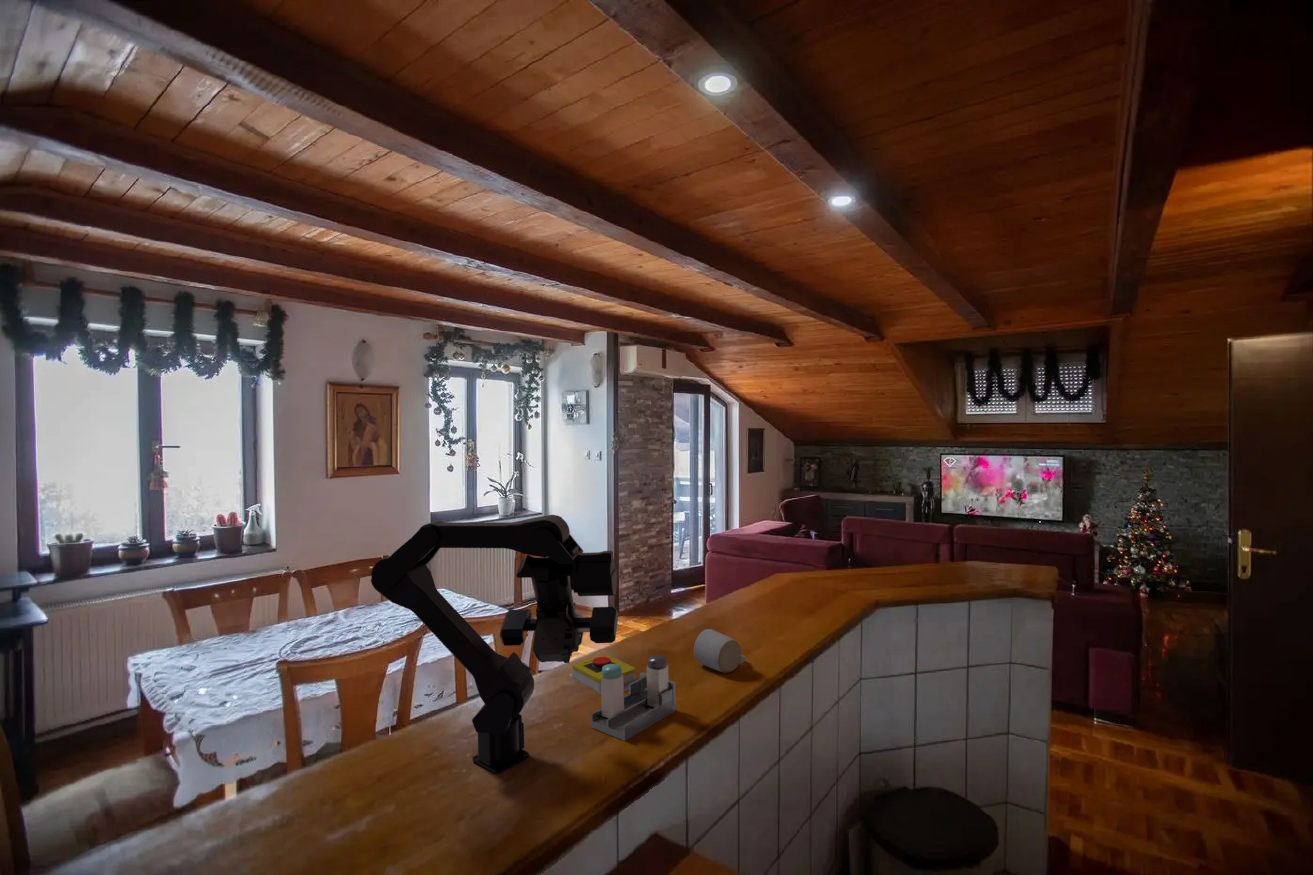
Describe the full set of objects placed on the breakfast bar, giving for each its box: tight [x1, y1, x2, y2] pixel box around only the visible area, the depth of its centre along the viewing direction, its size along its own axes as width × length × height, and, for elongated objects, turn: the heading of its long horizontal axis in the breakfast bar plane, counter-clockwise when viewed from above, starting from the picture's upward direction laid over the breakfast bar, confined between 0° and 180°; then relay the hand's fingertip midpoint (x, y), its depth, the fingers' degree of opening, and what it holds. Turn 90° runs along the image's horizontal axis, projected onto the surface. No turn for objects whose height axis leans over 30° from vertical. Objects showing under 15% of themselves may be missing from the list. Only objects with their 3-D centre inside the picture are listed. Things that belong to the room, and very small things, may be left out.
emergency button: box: [568, 654, 638, 695], centre depth 128 cm, size 9×4×15 cm
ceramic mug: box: [693, 628, 746, 674], centre depth 134 cm, size 11×8×8 cm
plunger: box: [600, 664, 625, 718], centre depth 108 cm, size 3×3×8 cm
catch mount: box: [590, 654, 677, 742], centre depth 110 cm, size 14×8×10 cm, turn 141°
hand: (567, 661), depth 105 cm, fingers closed
